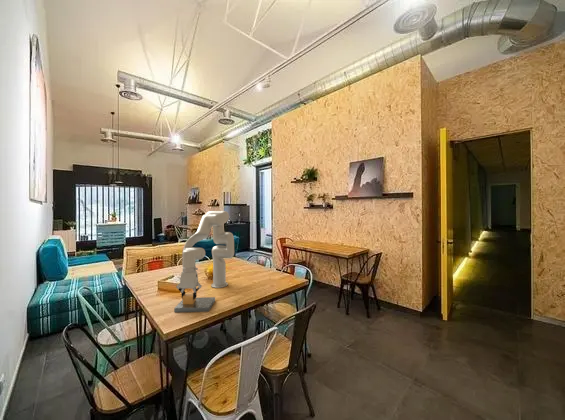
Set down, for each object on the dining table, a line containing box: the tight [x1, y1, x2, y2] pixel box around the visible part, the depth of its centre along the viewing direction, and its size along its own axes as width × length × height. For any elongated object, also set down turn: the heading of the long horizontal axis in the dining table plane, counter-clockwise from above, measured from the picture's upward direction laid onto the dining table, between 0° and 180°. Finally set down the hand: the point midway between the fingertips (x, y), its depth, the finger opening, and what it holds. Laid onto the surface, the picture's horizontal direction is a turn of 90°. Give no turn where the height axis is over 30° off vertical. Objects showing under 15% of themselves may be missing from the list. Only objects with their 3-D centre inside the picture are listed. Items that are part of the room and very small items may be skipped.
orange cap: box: [183, 292, 197, 304], centre depth 149 cm, size 6×6×5 cm
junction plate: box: [173, 296, 216, 313], centre depth 149 cm, size 16×20×6 cm
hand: (189, 298), depth 149 cm, fingers closed on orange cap, 5 cm apart
